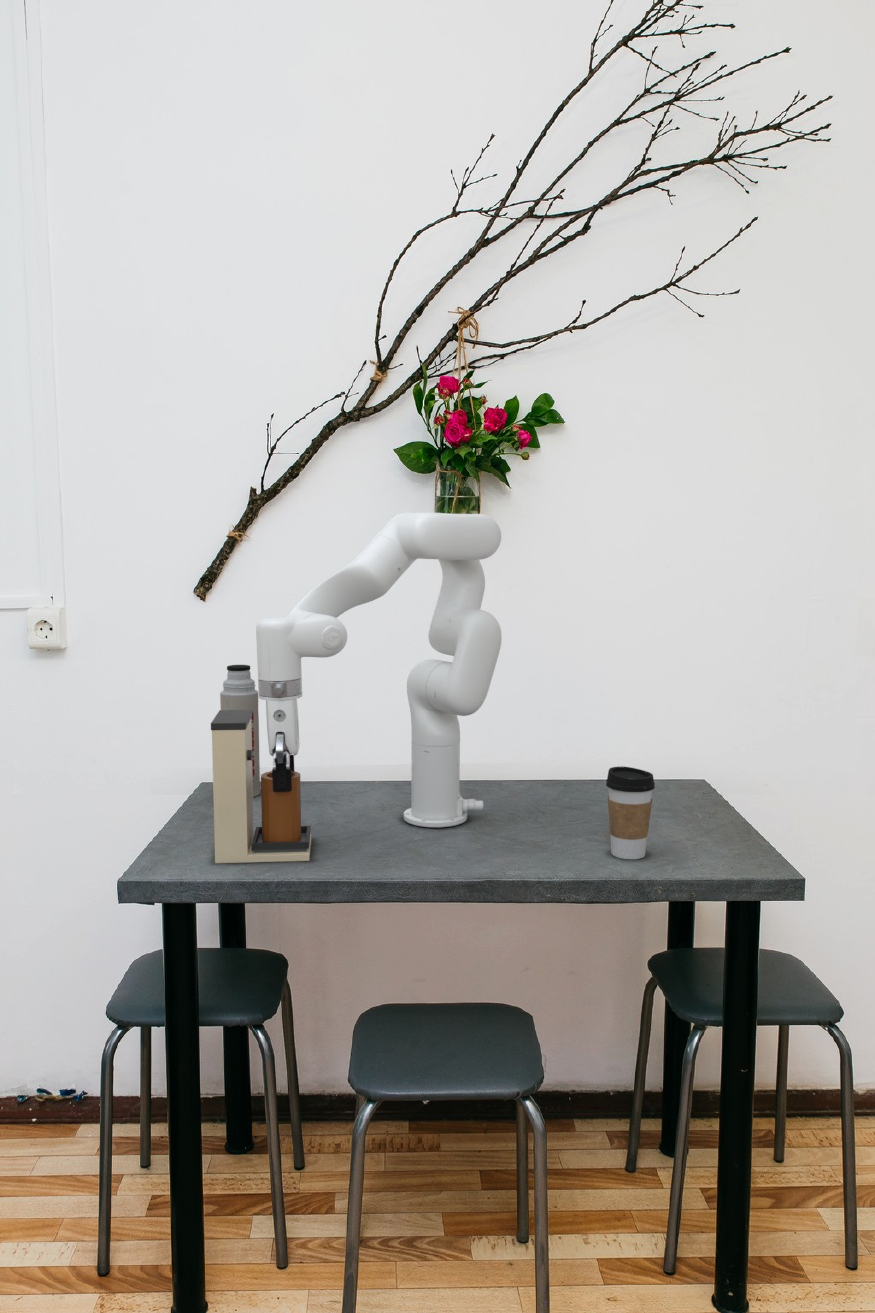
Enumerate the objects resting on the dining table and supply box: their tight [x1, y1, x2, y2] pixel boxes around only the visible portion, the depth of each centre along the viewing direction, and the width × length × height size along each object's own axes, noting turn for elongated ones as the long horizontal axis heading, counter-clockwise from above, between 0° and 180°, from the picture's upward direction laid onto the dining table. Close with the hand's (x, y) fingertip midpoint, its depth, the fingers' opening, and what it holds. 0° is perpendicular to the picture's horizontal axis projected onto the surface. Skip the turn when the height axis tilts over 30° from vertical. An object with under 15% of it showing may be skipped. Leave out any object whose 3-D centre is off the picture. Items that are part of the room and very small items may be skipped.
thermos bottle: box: [219, 664, 261, 798], centre depth 212 cm, size 8×8×28 cm
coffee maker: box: [210, 709, 312, 864], centre depth 174 cm, size 16×12×24 cm
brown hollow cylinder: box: [260, 770, 302, 842], centre depth 175 cm, size 7×7×12 cm
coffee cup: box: [605, 765, 656, 860], centre depth 174 cm, size 8×8×15 cm
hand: (284, 784), depth 175 cm, fingers open, 9 cm apart
